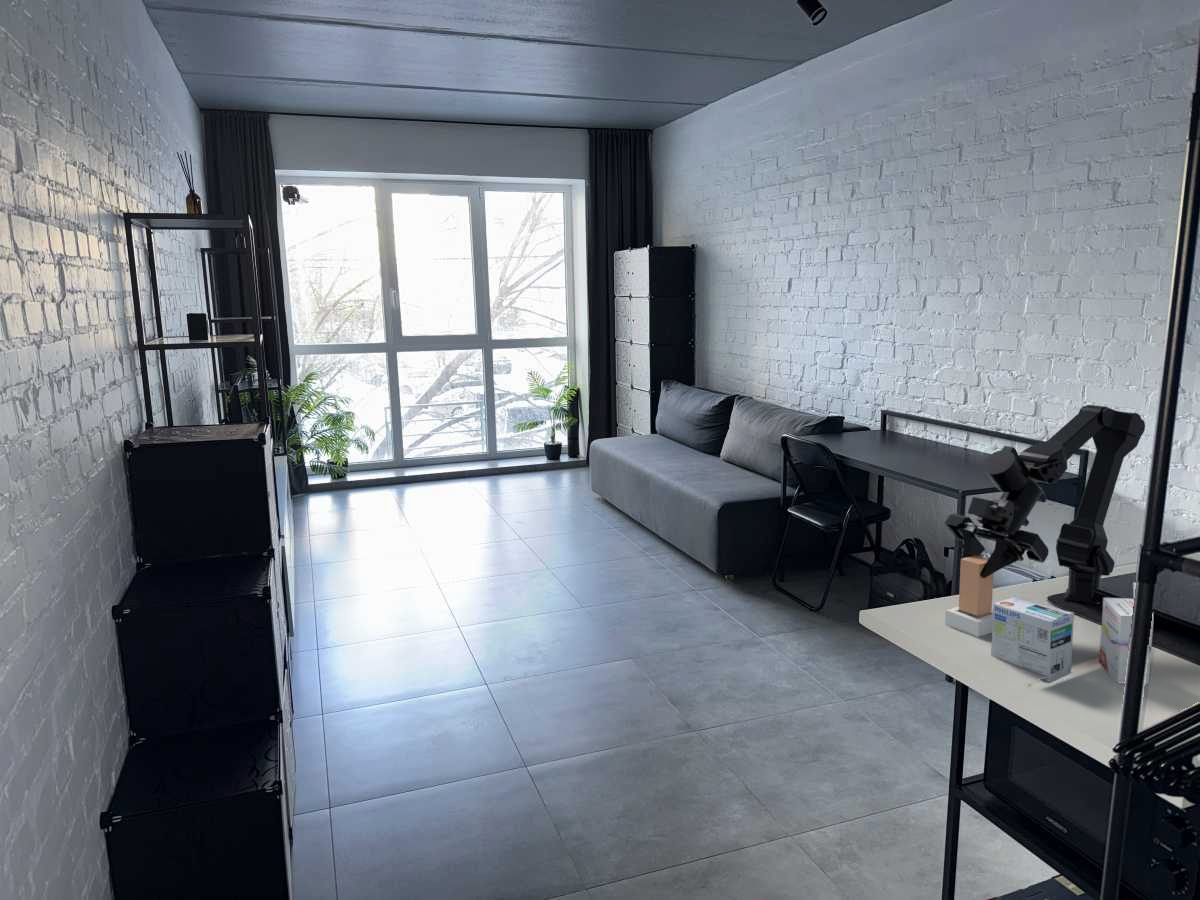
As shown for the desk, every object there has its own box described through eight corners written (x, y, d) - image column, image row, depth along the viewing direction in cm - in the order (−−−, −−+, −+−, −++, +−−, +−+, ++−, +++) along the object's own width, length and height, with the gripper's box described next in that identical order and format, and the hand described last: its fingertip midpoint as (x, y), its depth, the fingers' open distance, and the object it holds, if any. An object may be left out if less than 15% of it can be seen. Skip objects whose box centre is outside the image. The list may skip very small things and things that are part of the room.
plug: (973, 604, 162) (975, 555, 160) (991, 611, 159) (994, 560, 157) (958, 609, 160) (960, 558, 159) (976, 615, 157) (979, 564, 155)
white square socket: (970, 617, 165) (971, 602, 164) (1004, 629, 159) (1004, 614, 158) (944, 625, 162) (945, 610, 161) (977, 637, 155) (978, 622, 155)
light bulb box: (1072, 673, 142) (1076, 612, 140) (1048, 684, 139) (1052, 621, 137) (1012, 652, 151) (1015, 594, 149) (988, 662, 148) (991, 602, 146)
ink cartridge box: (1096, 661, 146) (1102, 579, 144) (1128, 663, 145) (1135, 580, 143) (1115, 684, 138) (1122, 597, 135) (1149, 686, 137) (1157, 598, 134)
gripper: (952, 472, 165) (910, 537, 162) (1042, 490, 149) (996, 562, 146) (978, 506, 170) (938, 569, 167) (1067, 526, 154) (1024, 597, 151)
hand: (971, 573), depth 158 cm, fingers closed on plug, 4 cm apart
